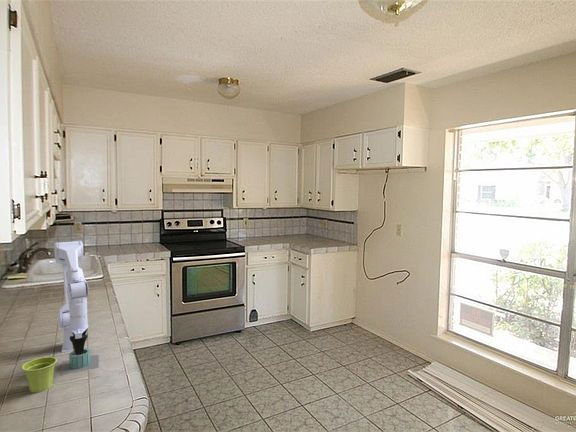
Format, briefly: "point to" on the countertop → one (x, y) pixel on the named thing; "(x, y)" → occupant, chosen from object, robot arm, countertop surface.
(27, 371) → the plant pot
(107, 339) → the countertop surface
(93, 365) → the grey mat
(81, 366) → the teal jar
